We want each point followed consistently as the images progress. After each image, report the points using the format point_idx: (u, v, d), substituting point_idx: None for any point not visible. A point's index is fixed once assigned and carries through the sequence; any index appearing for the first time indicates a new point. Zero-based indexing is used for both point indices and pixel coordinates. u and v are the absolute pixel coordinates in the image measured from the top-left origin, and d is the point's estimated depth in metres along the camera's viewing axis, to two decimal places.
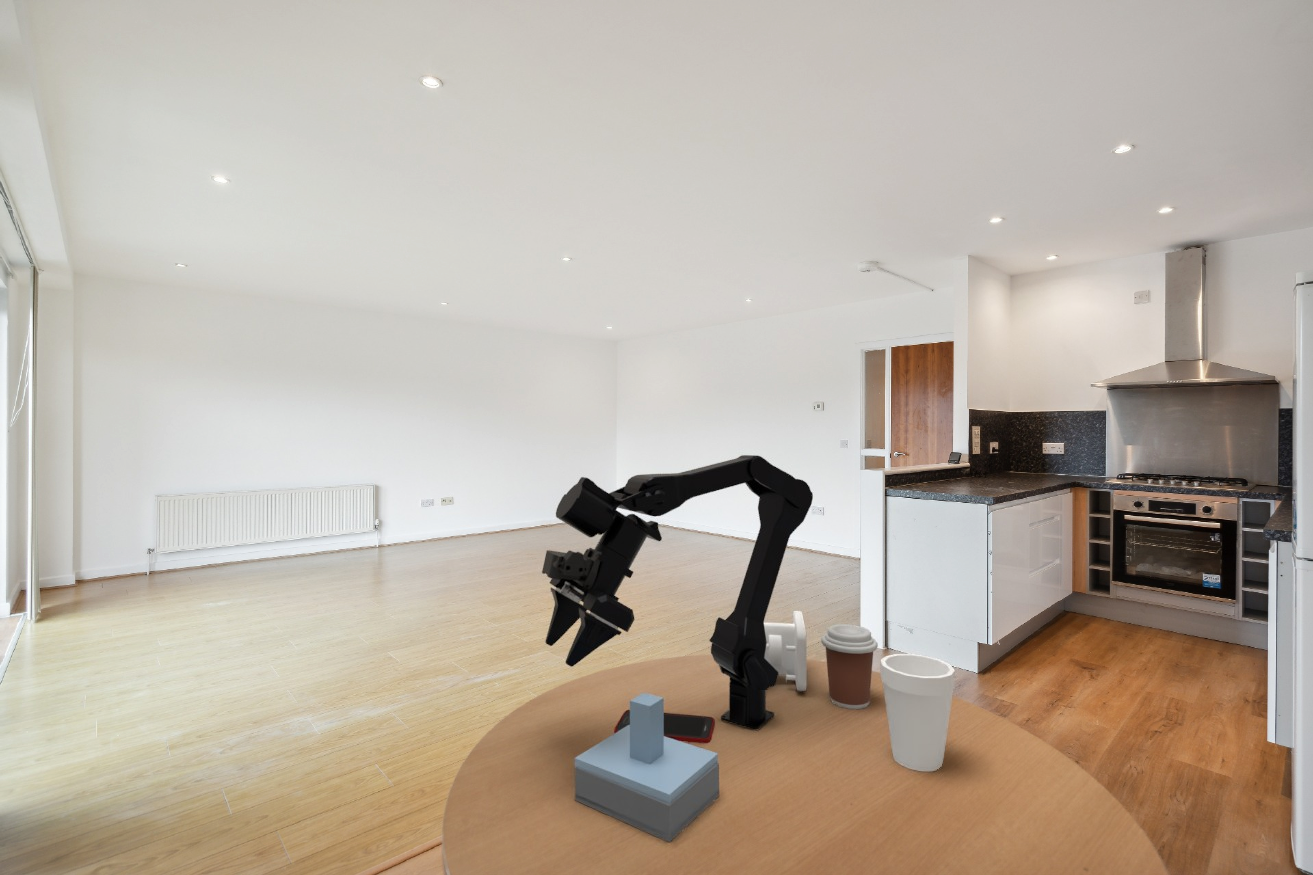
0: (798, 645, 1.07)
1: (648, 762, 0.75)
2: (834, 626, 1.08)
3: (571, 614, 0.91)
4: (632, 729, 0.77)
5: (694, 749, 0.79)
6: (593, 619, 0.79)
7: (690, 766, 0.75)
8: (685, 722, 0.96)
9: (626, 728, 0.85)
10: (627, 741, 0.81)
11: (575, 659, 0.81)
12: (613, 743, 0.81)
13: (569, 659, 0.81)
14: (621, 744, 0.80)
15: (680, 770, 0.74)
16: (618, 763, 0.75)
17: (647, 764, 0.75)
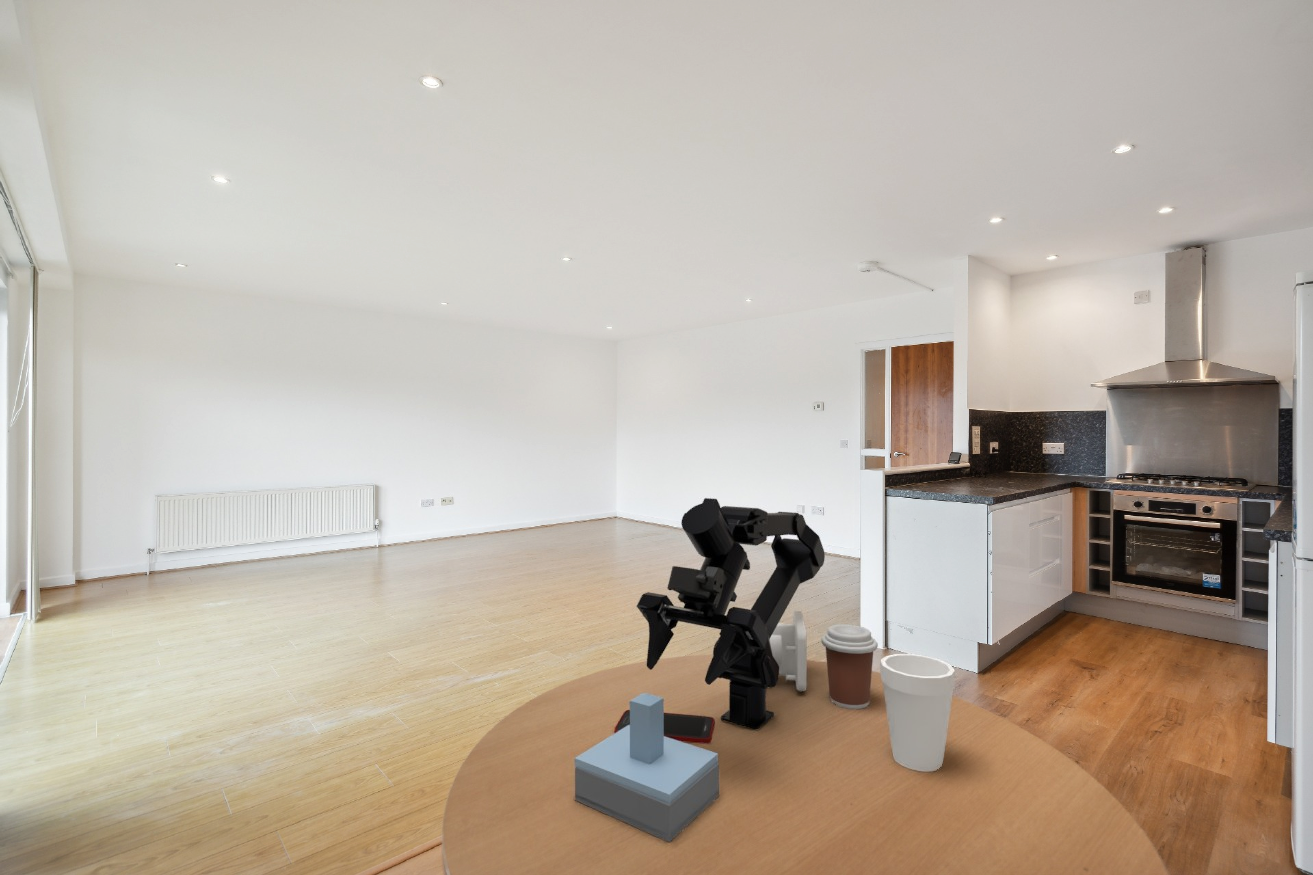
0: (798, 645, 1.07)
1: (648, 762, 0.75)
2: (834, 626, 1.08)
3: (664, 637, 0.89)
4: (632, 729, 0.77)
5: (694, 749, 0.79)
6: (743, 634, 0.81)
7: (690, 766, 0.75)
8: (685, 722, 0.96)
9: (626, 728, 0.85)
10: (627, 741, 0.81)
11: (713, 676, 0.80)
12: (613, 743, 0.81)
13: (710, 676, 0.80)
14: (621, 744, 0.80)
15: (680, 770, 0.74)
16: (618, 763, 0.75)
17: (647, 764, 0.75)
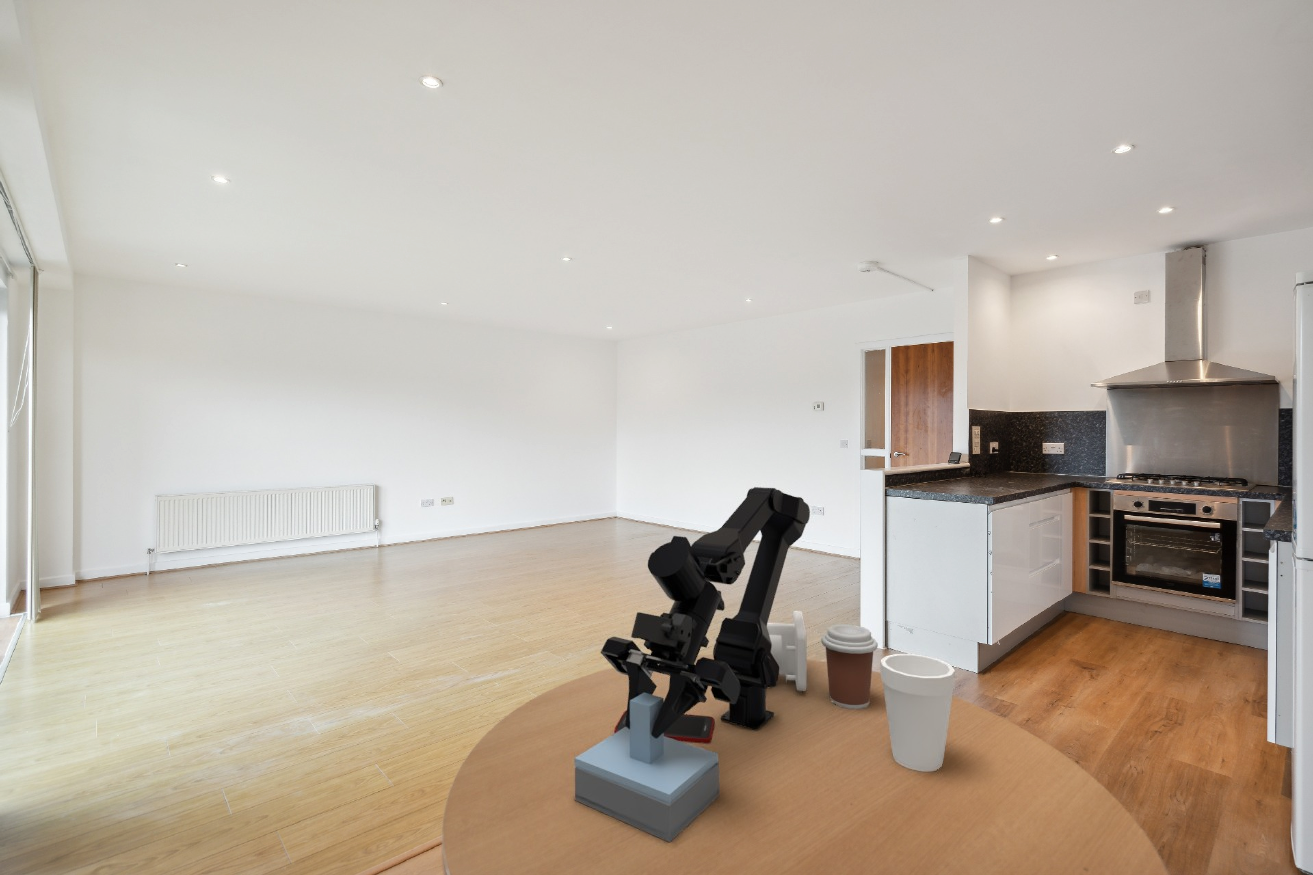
0: (798, 645, 1.07)
1: (648, 762, 0.75)
2: (834, 626, 1.08)
3: (646, 692, 0.81)
4: (632, 729, 0.77)
5: (694, 749, 0.79)
6: (693, 684, 0.76)
7: (690, 766, 0.75)
8: (685, 722, 0.96)
9: (626, 728, 0.85)
10: (627, 741, 0.81)
11: (661, 729, 0.75)
12: (613, 743, 0.81)
13: (657, 730, 0.75)
14: (621, 744, 0.80)
15: (680, 770, 0.74)
16: (618, 763, 0.75)
17: (647, 764, 0.75)
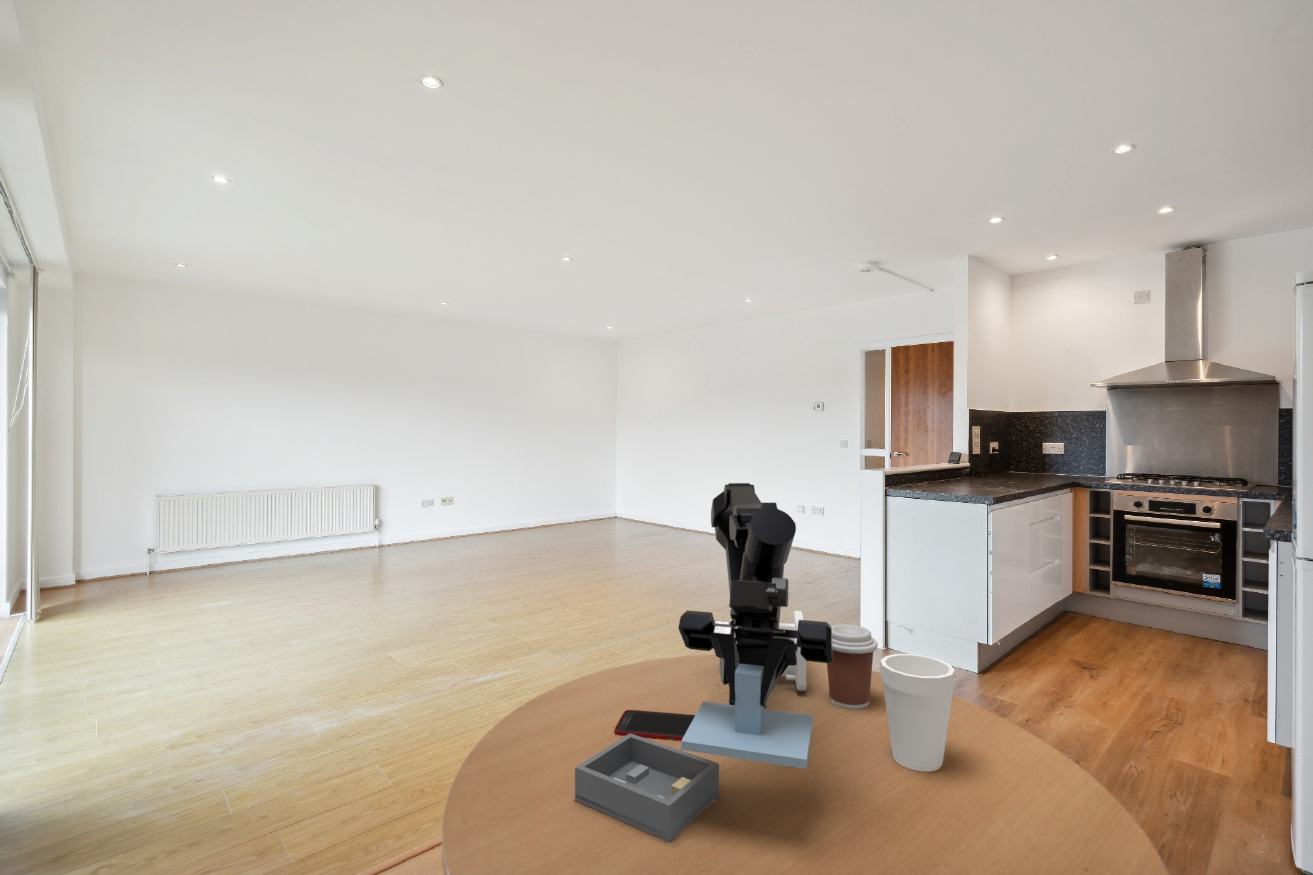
0: None
1: (758, 733, 0.73)
2: (834, 626, 1.08)
3: (737, 663, 0.78)
4: (738, 702, 0.73)
5: (788, 715, 0.78)
6: (794, 647, 0.75)
7: (799, 730, 0.74)
8: (685, 722, 0.96)
9: (704, 704, 0.81)
10: (717, 716, 0.77)
11: (767, 697, 0.73)
12: (705, 721, 0.76)
13: (765, 697, 0.73)
14: (714, 720, 0.76)
15: (794, 735, 0.72)
16: (729, 739, 0.72)
17: (758, 735, 0.73)
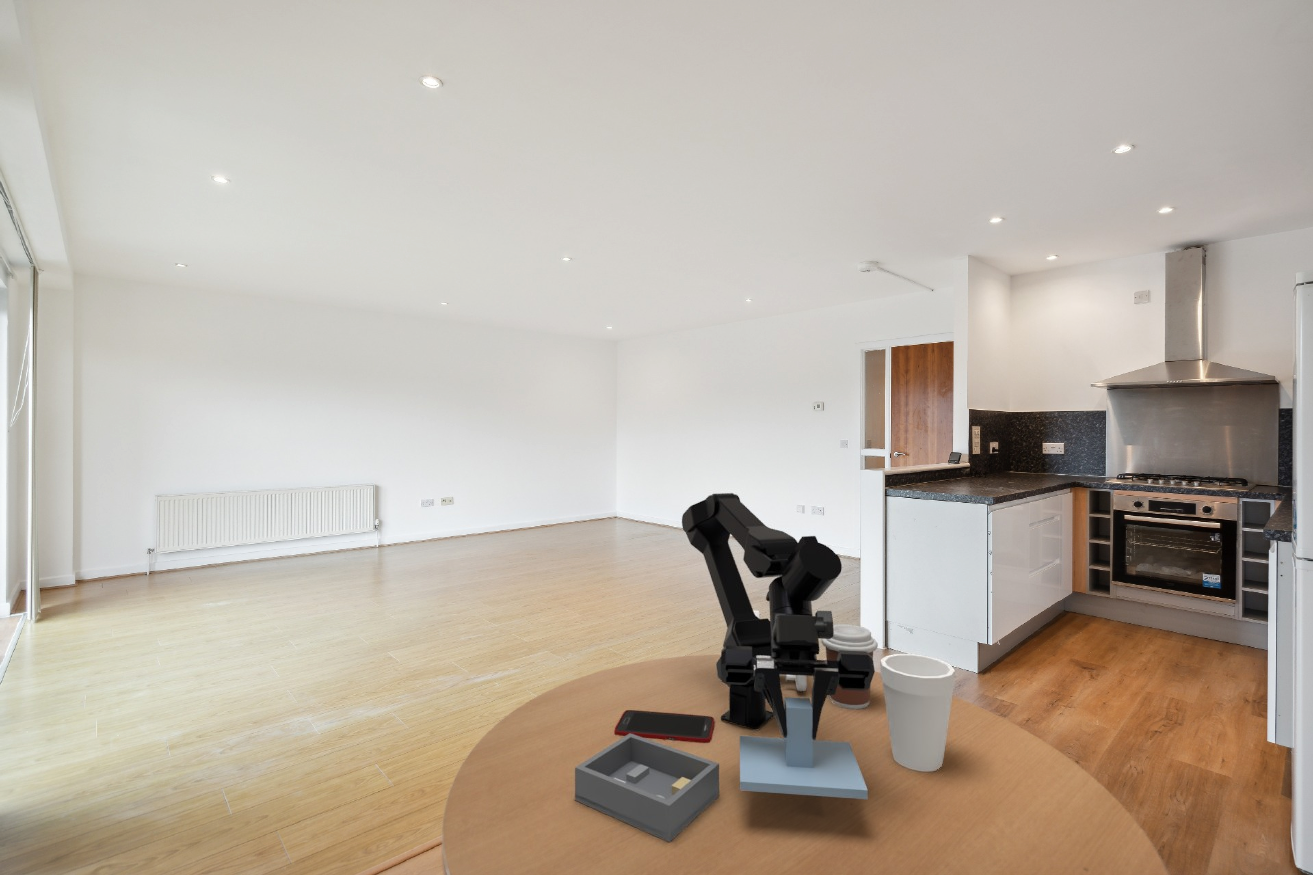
0: None
1: (810, 766, 0.74)
2: (834, 626, 1.08)
3: None
4: (790, 736, 0.74)
5: (827, 744, 0.79)
6: None
7: (846, 760, 0.76)
8: (685, 722, 0.97)
9: (742, 739, 0.81)
10: (761, 751, 0.78)
11: None
12: (753, 757, 0.76)
13: None
14: (761, 755, 0.77)
15: (844, 765, 0.74)
16: (785, 774, 0.72)
17: (810, 768, 0.74)
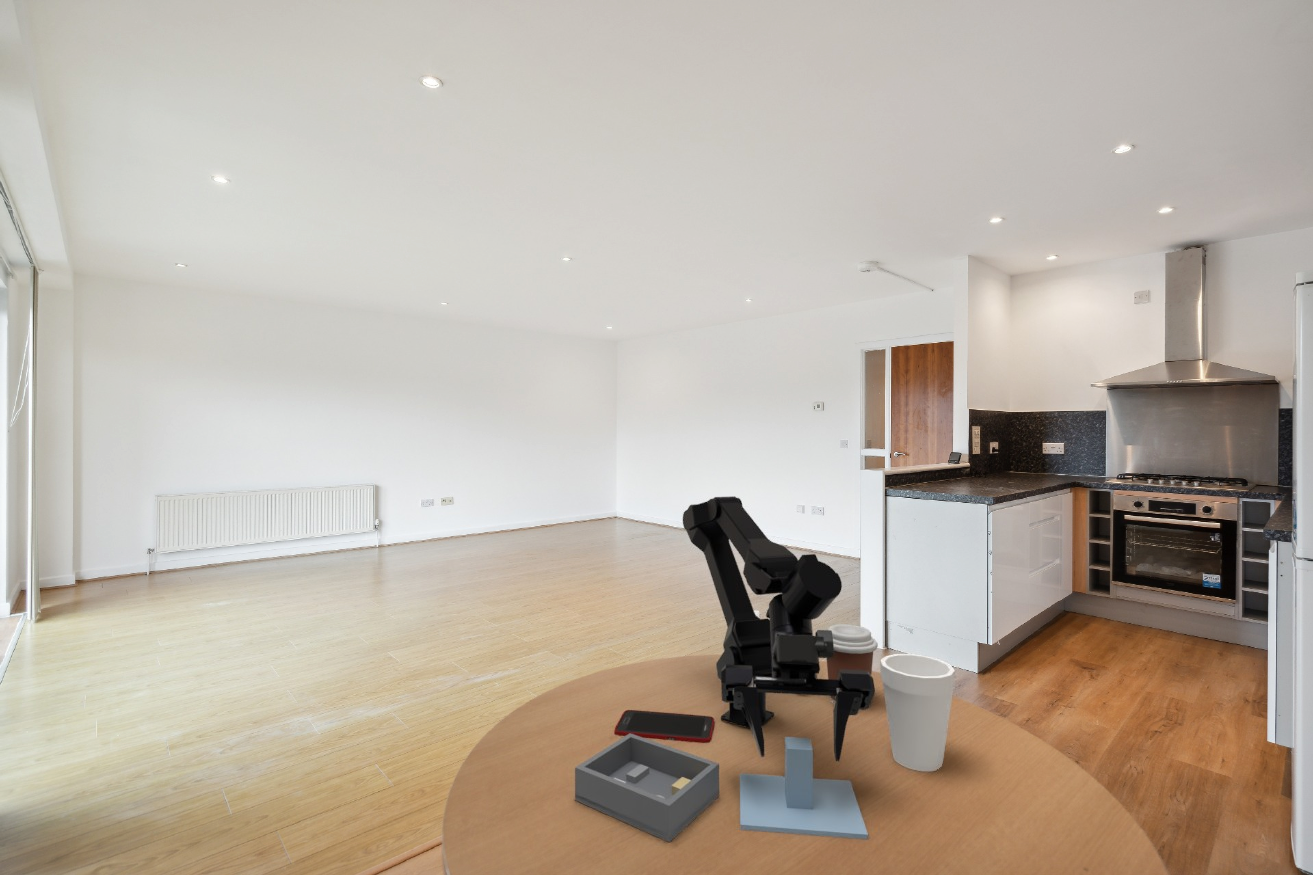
0: None
1: (811, 807, 0.74)
2: (834, 626, 1.08)
3: None
4: (790, 778, 0.74)
5: (827, 783, 0.79)
6: (861, 699, 0.76)
7: (846, 800, 0.75)
8: (685, 722, 0.97)
9: (742, 777, 0.81)
10: (762, 791, 0.77)
11: None
12: (753, 797, 0.76)
13: None
14: (761, 795, 0.76)
15: (844, 807, 0.74)
16: (785, 817, 0.72)
17: (811, 810, 0.73)
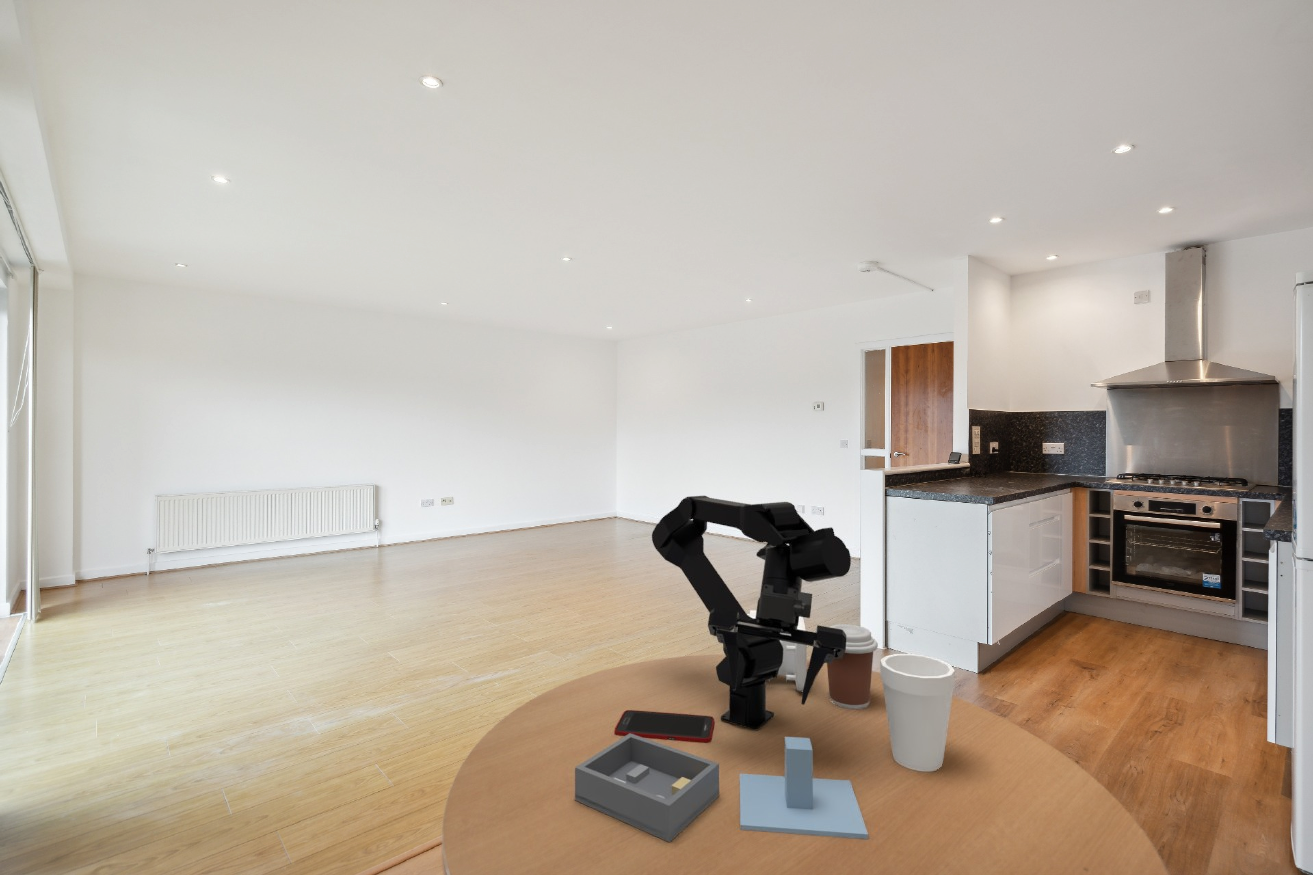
0: (798, 645, 1.07)
1: (811, 807, 0.74)
2: (834, 626, 1.08)
3: (737, 652, 0.88)
4: (790, 778, 0.74)
5: (827, 782, 0.79)
6: (834, 654, 0.84)
7: (846, 800, 0.75)
8: (685, 722, 0.97)
9: (742, 777, 0.81)
10: (762, 791, 0.77)
11: None
12: (753, 797, 0.76)
13: (806, 698, 0.83)
14: (761, 795, 0.76)
15: (844, 807, 0.74)
16: (785, 817, 0.72)
17: (811, 810, 0.73)
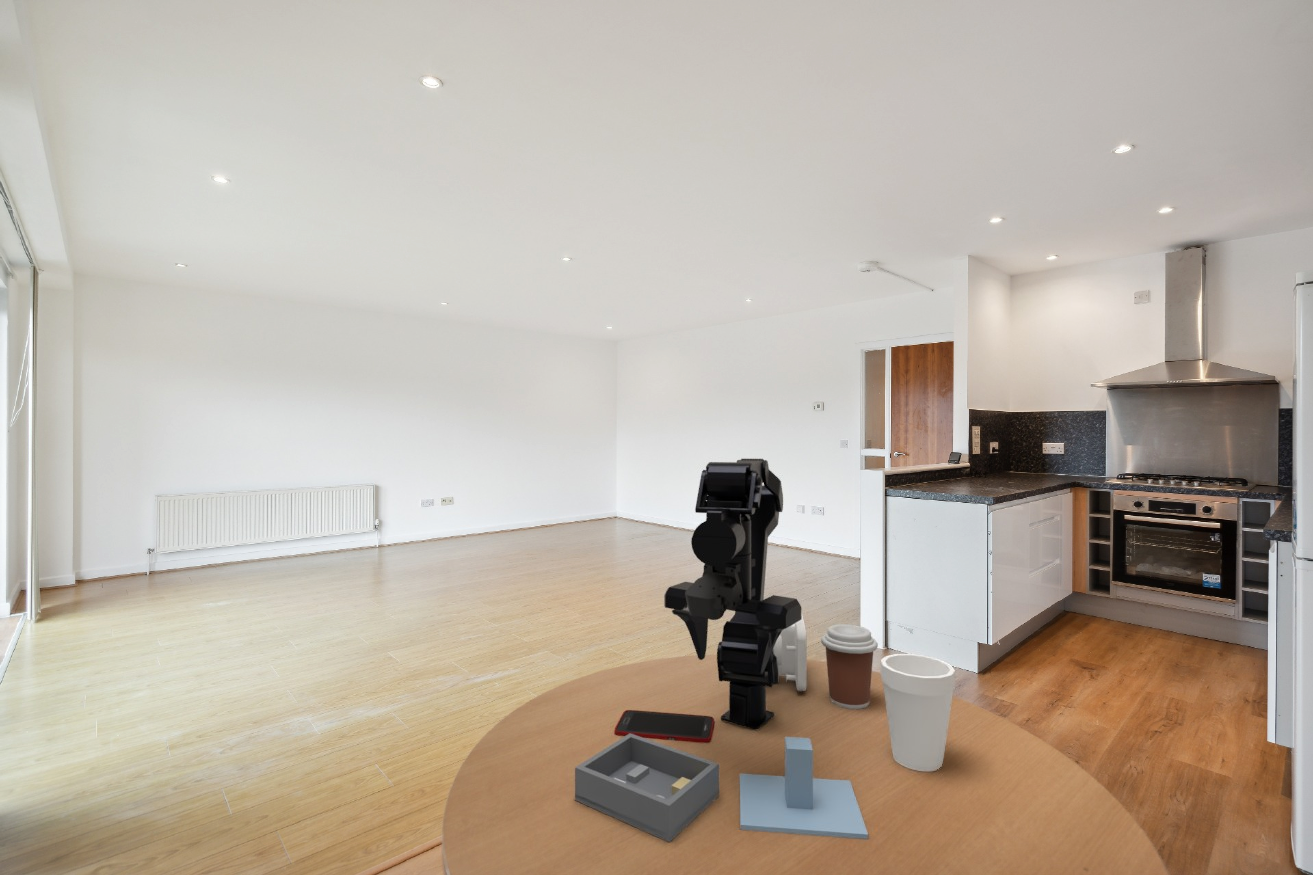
0: (798, 645, 1.07)
1: (811, 807, 0.74)
2: (834, 626, 1.08)
3: (703, 621, 0.90)
4: (790, 778, 0.74)
5: (827, 783, 0.79)
6: (779, 630, 0.80)
7: (846, 800, 0.75)
8: (685, 722, 0.97)
9: (742, 777, 0.81)
10: (762, 791, 0.77)
11: (764, 665, 0.83)
12: (753, 797, 0.76)
13: (761, 669, 0.83)
14: (761, 795, 0.76)
15: (844, 807, 0.74)
16: (786, 817, 0.72)
17: (811, 810, 0.73)
